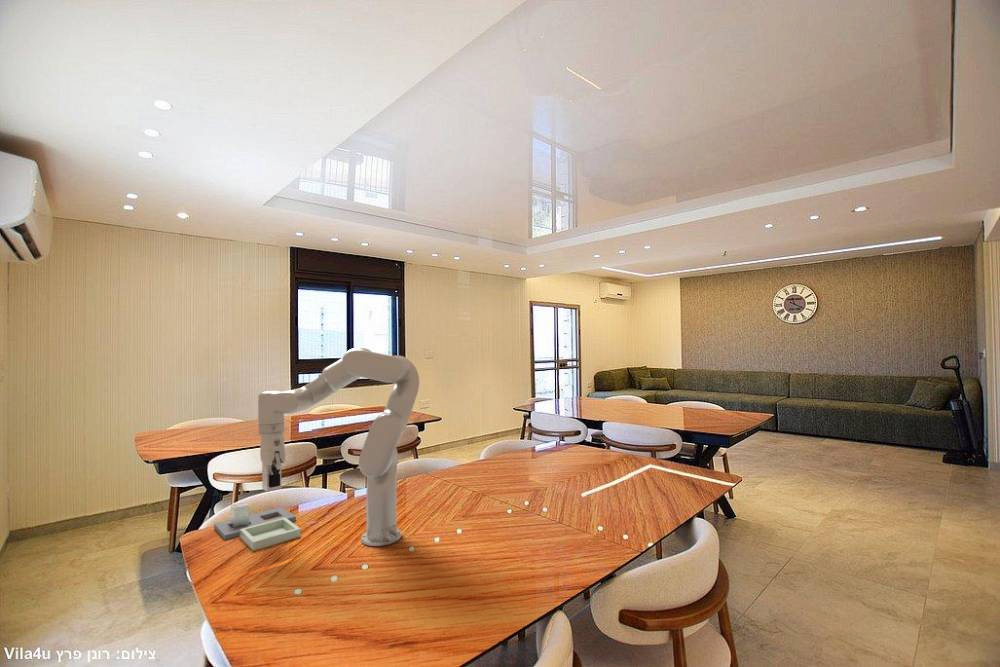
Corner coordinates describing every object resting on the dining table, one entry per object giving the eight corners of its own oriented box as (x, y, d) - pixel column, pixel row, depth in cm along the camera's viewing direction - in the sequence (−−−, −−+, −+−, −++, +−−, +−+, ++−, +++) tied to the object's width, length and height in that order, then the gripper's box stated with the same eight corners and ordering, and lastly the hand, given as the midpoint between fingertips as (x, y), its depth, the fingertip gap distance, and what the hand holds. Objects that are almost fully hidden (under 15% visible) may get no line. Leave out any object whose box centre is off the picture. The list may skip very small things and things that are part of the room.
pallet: (295, 523, 156) (295, 516, 156) (224, 543, 140) (224, 535, 140) (281, 513, 166) (281, 506, 166) (213, 530, 150) (214, 523, 150)
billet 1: (248, 531, 149) (248, 504, 150) (234, 535, 146) (234, 508, 147) (244, 527, 152) (245, 501, 153) (230, 531, 149) (230, 505, 150)
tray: (300, 539, 142) (300, 528, 142) (252, 554, 132) (253, 542, 132) (285, 527, 152) (285, 517, 152) (239, 540, 142) (239, 529, 142)
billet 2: (281, 488, 143) (281, 460, 143) (266, 491, 140) (266, 463, 140) (276, 485, 146) (276, 458, 146) (262, 488, 143) (262, 461, 143)
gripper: (292, 429, 140) (293, 487, 140) (274, 424, 152) (275, 477, 152) (267, 433, 135) (268, 493, 134) (250, 427, 147) (251, 482, 146)
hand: (272, 484), depth 143 cm, fingers closed on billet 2, 4 cm apart
